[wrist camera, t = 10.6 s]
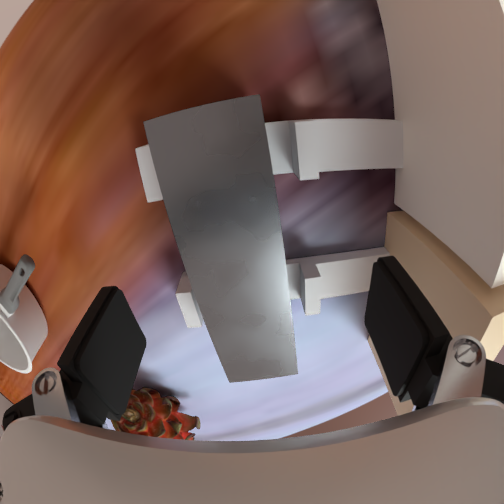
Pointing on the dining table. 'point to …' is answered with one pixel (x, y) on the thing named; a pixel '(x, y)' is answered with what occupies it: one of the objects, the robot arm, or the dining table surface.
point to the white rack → (413, 171)
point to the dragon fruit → (155, 416)
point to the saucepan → (19, 318)
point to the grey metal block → (229, 231)
